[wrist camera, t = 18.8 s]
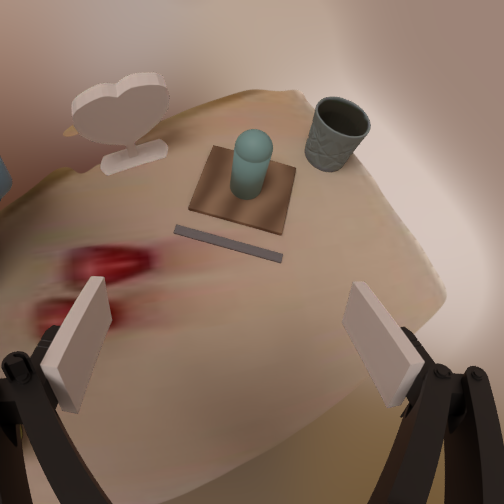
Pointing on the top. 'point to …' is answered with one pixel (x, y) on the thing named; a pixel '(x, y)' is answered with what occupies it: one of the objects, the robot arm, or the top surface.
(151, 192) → the top surface
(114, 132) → the heart sculpture
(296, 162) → the top surface
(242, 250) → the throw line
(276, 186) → the board
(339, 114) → the grey textured cup
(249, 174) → the teal domed cylinder
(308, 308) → the top surface
